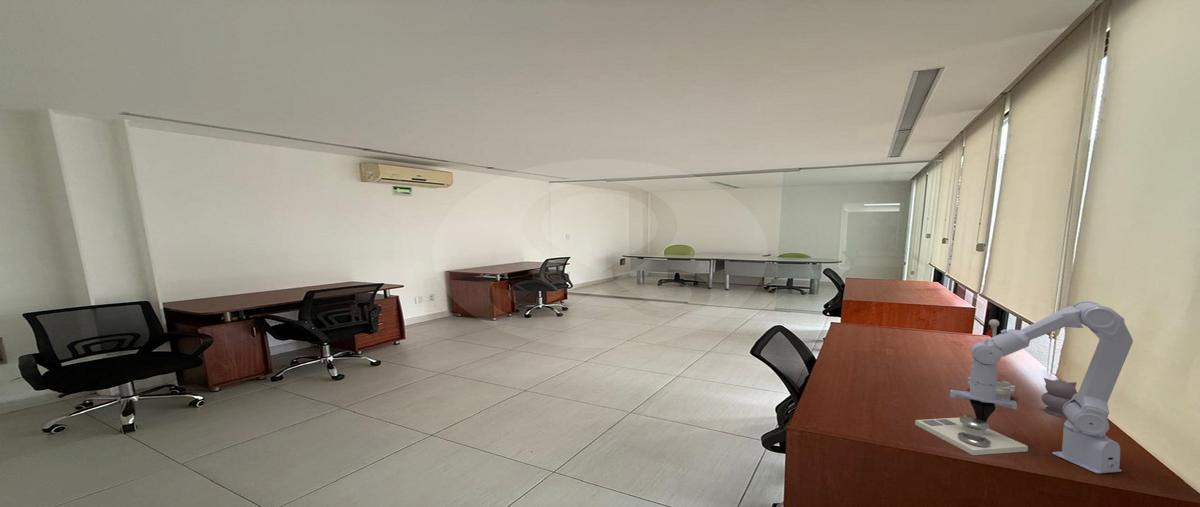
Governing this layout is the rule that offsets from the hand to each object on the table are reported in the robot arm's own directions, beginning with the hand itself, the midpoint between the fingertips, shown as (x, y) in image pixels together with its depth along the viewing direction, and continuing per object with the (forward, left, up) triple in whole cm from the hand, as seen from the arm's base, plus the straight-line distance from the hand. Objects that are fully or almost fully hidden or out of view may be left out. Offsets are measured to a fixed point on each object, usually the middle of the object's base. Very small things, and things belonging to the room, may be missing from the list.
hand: (980, 425), depth 121 cm
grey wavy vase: (+11, -45, -4) cm, 46 cm away
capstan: (-1, +4, -2) cm, 4 cm away
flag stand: (+28, -39, -4) cm, 48 cm away
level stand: (+1, +3, -4) cm, 5 cm away
